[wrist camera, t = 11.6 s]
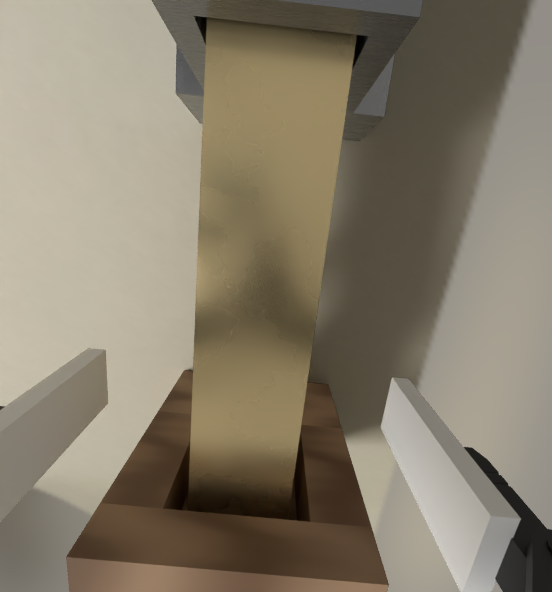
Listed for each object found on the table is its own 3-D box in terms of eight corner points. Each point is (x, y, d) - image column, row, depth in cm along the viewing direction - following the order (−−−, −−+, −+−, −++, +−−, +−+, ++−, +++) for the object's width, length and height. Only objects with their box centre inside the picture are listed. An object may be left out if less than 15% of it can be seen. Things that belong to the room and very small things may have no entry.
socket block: (182, 430, 24) (75, 662, 11) (184, 370, 23) (66, 557, 10) (318, 443, 24) (362, 685, 12) (328, 384, 23) (388, 584, 10)
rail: (207, 468, 18) (184, 547, 14) (232, 35, 13) (207, -64, 8) (282, 474, 18) (283, 556, 14) (338, 47, 13) (370, -44, 8)
